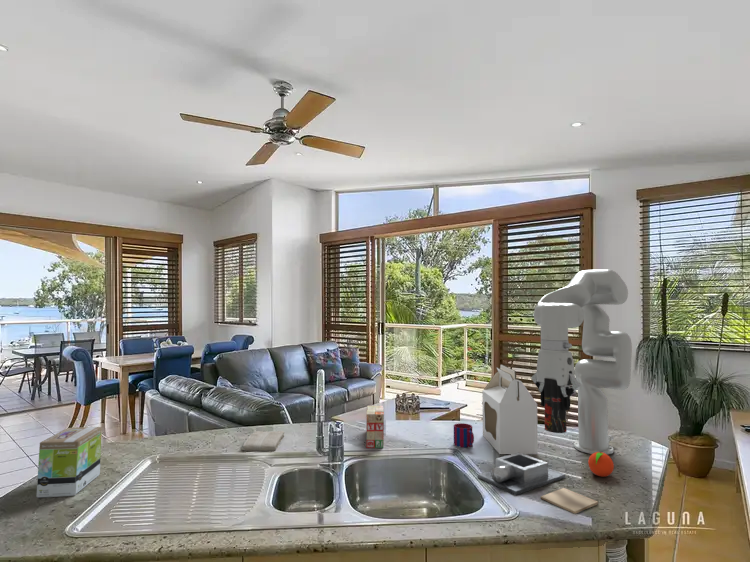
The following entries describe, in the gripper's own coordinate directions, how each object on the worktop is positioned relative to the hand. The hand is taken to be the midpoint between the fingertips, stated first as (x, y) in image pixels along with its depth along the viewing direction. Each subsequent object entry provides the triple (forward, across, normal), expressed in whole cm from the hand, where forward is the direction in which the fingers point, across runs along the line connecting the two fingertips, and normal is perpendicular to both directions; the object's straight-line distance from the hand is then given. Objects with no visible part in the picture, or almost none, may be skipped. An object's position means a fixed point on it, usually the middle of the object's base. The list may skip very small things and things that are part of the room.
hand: (555, 407), depth 131 cm
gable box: (+22, +30, -16) cm, 40 cm away
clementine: (+22, -5, -15) cm, 27 cm away
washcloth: (+22, +81, +58) cm, 102 cm away
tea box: (+22, +76, +117) cm, 141 cm away
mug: (+22, +37, -1) cm, 43 cm away
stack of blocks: (+22, +63, +21) cm, 70 cm away
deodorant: (+7, 0, 0) cm, 7 cm away
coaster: (+22, -9, +8) cm, 25 cm away
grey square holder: (+22, +8, +6) cm, 24 cm away
